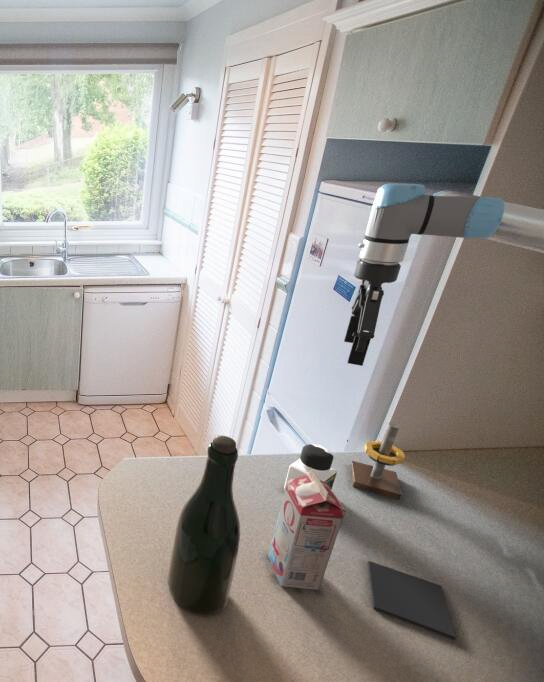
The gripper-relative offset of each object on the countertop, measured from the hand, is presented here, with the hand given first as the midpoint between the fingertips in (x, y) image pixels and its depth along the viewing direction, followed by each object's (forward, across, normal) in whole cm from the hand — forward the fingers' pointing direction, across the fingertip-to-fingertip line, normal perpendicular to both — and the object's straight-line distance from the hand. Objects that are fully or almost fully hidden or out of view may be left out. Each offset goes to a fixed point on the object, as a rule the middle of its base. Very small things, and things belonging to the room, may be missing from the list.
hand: (352, 352), depth 104 cm
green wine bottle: (+31, +53, -20) cm, 65 cm away
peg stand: (+31, +2, +11) cm, 33 cm away
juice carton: (+31, +40, -5) cm, 51 cm away
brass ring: (+23, +2, +11) cm, 25 cm away
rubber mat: (+31, +36, +13) cm, 49 cm away
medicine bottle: (+31, +14, -3) cm, 34 cm away
